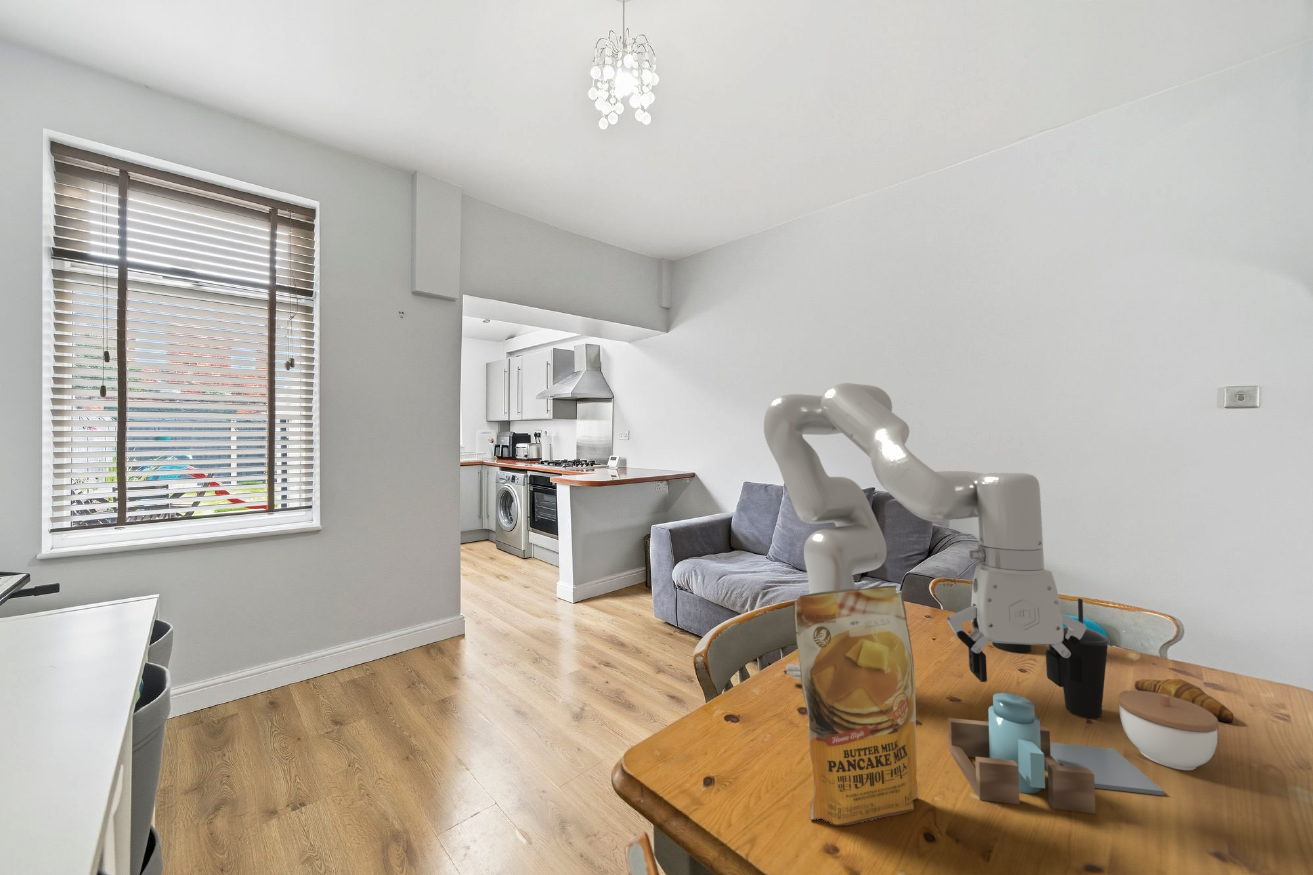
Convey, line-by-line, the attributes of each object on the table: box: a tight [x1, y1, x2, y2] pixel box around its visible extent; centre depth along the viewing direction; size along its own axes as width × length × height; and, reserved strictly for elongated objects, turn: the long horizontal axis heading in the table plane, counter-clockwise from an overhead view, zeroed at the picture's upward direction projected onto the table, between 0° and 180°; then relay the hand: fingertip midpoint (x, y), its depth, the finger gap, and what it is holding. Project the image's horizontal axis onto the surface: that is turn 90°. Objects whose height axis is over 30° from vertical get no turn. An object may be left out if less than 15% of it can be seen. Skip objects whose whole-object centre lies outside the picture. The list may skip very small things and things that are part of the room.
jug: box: [988, 692, 1046, 795], centre depth 71 cm, size 6×9×11 cm, turn 168°
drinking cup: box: [1062, 598, 1111, 720], centre depth 91 cm, size 8×8×20 cm
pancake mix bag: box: [793, 585, 920, 827], centre depth 67 cm, size 7×19×28 cm, turn 104°
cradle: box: [947, 717, 1096, 814], centre depth 72 cm, size 13×11×5 cm
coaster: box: [1050, 741, 1165, 797], centre depth 74 cm, size 10×10×1 cm
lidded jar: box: [1117, 689, 1219, 772], centre depth 77 cm, size 11×11×9 cm
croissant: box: [1134, 678, 1235, 723], centre depth 92 cm, size 14×7×5 cm, turn 20°
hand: (1017, 680), depth 72 cm, fingers open, 9 cm apart
